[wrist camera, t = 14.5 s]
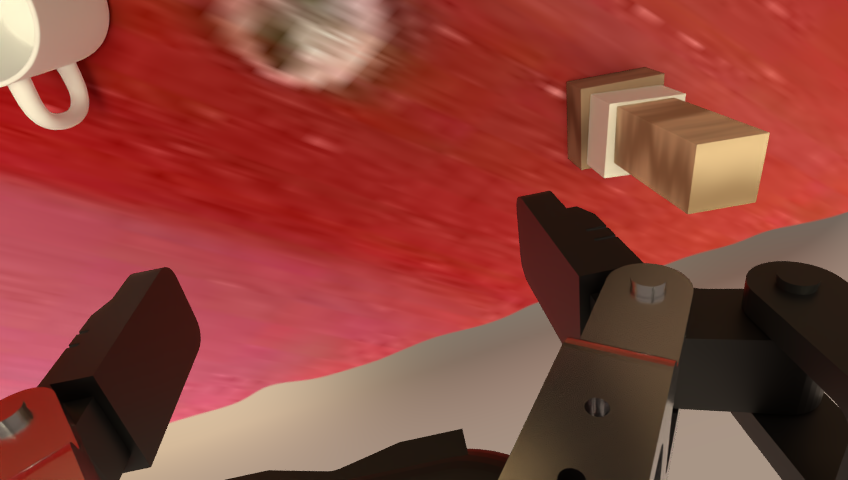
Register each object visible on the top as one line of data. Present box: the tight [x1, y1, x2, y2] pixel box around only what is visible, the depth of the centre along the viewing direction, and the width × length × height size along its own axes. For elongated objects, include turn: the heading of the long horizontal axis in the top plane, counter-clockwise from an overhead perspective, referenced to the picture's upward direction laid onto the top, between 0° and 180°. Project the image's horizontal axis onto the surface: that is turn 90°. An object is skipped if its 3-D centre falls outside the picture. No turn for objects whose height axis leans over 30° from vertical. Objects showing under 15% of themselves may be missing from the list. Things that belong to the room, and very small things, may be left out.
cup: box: [0, 0, 109, 130], centre depth 33 cm, size 8×12×10 cm
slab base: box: [567, 67, 664, 170], centre depth 45 cm, size 7×7×4 cm
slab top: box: [587, 85, 686, 178], centre depth 42 cm, size 6×6×4 cm
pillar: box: [614, 98, 770, 214], centre depth 35 cm, size 4×4×10 cm
